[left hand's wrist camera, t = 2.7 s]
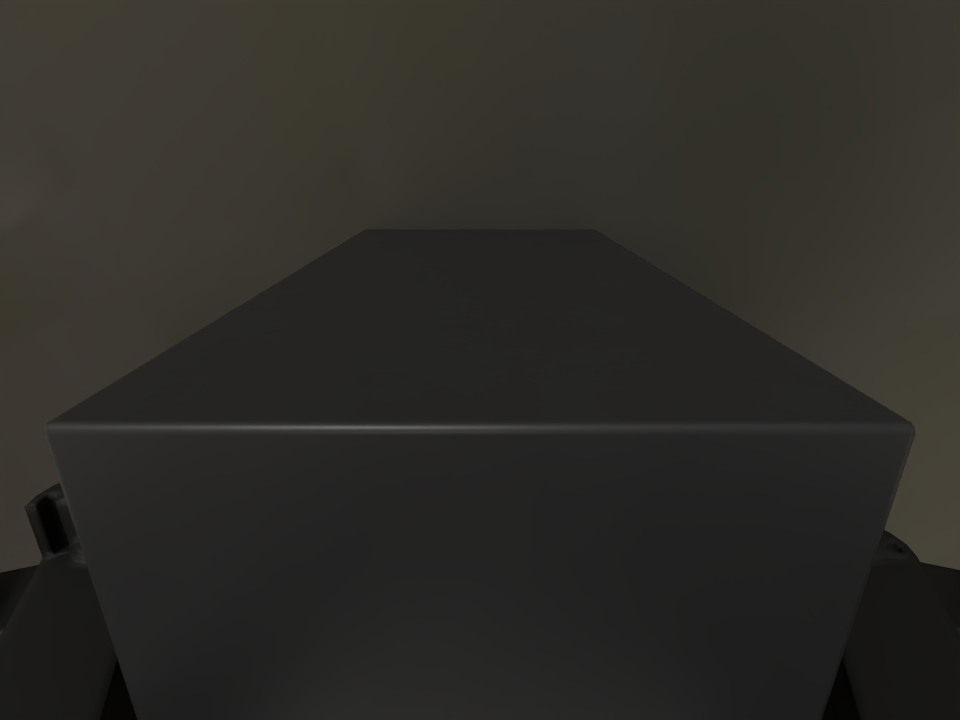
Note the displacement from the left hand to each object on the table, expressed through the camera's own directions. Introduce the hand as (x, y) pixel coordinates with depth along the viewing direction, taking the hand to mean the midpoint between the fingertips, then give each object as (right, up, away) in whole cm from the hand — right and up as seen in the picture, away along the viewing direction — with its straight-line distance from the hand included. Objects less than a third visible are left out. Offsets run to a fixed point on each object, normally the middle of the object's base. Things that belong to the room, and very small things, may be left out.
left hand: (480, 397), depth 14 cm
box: (0, -9, +5) cm, 10 cm away
